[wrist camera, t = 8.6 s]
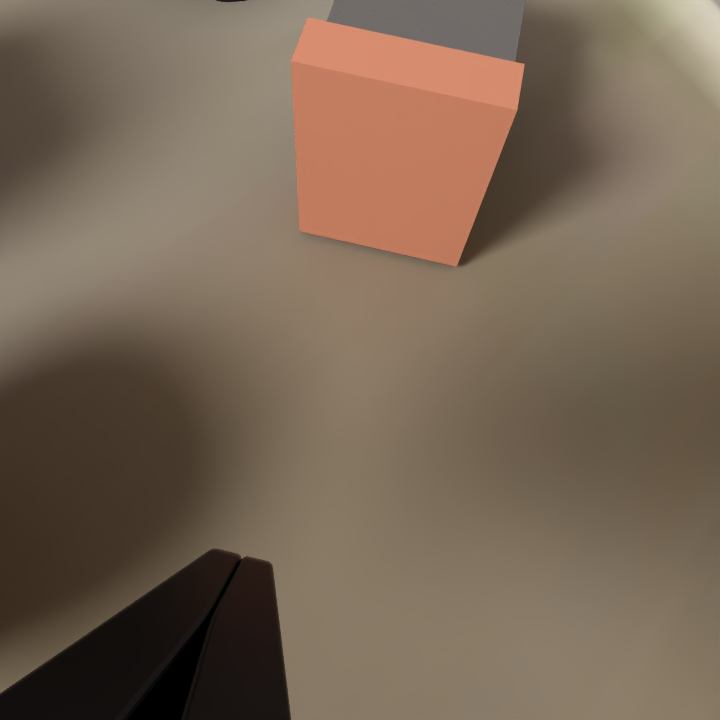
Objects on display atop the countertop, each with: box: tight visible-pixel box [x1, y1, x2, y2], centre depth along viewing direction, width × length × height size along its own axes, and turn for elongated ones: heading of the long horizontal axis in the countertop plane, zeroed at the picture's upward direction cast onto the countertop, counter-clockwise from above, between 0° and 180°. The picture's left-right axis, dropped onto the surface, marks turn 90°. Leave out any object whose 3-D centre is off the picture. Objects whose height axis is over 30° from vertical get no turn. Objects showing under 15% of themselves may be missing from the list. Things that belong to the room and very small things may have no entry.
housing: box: [327, 0, 526, 62], centre depth 26 cm, size 10×7×7 cm
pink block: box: [291, 18, 525, 267], centre depth 24 cm, size 10×7×9 cm, turn 167°
